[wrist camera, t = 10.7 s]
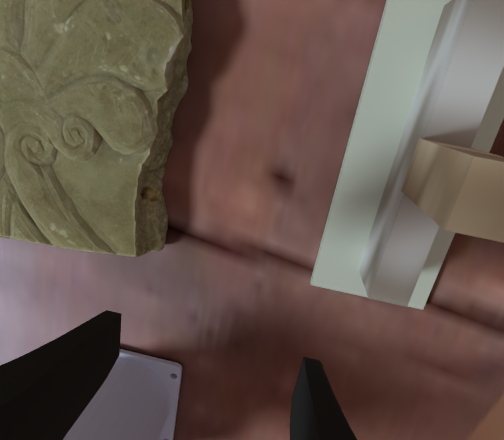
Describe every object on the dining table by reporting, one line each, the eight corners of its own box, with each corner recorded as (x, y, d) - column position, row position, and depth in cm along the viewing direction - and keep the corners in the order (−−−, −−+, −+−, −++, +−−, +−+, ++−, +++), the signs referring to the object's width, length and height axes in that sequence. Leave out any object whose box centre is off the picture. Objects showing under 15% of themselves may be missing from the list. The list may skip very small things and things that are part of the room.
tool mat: (420, 305, 21) (422, 309, 21) (310, 280, 22) (310, 284, 21) (539, 17, 16) (547, 15, 15) (388, -7, 16) (390, -10, 16)
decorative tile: (-62, 210, 24) (-119, 227, 21) (-140, -156, 17) (-243, -216, 14) (188, 253, 23) (169, 279, 20) (212, -128, 16) (189, -188, 13)
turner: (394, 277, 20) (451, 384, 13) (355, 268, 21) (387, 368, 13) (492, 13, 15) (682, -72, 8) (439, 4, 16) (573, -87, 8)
